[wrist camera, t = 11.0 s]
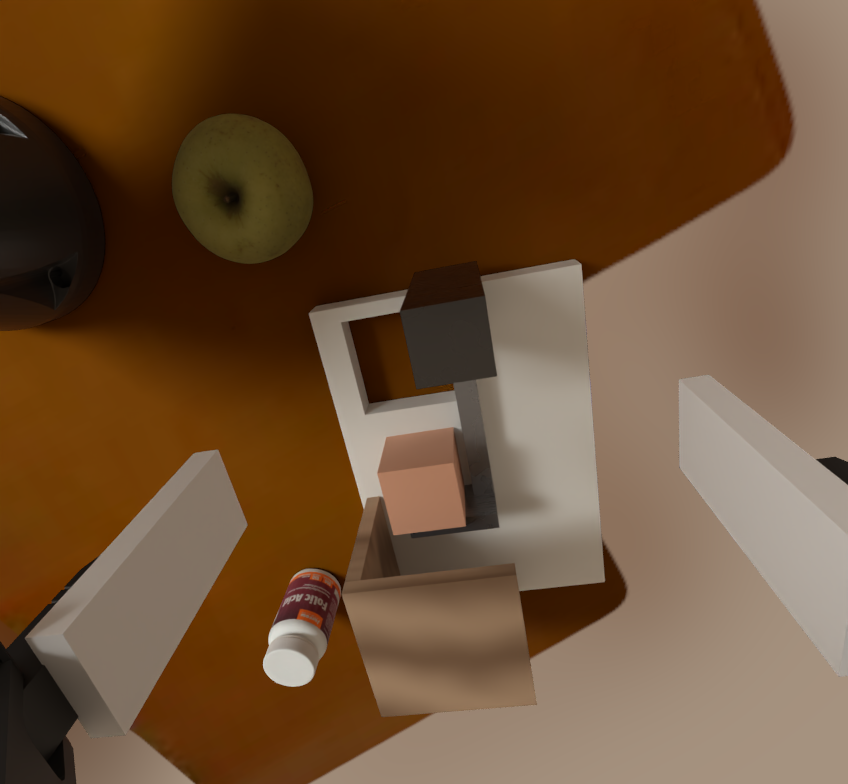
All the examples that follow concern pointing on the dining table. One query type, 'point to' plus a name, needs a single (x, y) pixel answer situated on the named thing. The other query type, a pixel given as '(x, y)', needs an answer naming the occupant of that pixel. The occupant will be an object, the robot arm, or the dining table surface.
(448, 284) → the grey u-shaped bracket
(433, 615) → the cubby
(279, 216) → the apple
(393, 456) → the cube
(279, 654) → the pill bottle
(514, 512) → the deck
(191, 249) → the dining table surface
